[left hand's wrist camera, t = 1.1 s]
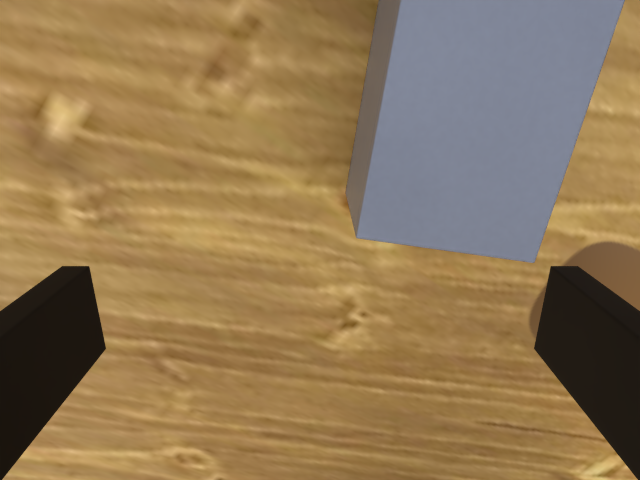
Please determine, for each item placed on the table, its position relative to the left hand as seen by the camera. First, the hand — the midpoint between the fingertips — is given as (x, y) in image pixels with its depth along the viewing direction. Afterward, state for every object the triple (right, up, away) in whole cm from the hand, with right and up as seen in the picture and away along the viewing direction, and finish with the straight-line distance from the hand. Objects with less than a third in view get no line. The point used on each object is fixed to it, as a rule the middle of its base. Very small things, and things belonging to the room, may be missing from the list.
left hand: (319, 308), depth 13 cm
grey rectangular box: (+9, +15, +18) cm, 25 cm away
